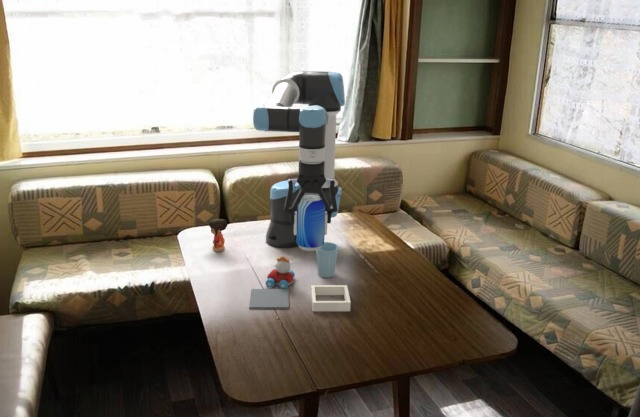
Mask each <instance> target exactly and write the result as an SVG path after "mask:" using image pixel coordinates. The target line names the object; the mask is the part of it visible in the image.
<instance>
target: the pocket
mask: <svg viewBox="0 0 640 417" xmlns="http://www.w3.org/2000/svg"><path fill="white" fill-rule="evenodd" d="M310 286H311V288H310V295H311V309H312V312H351V305H352V304H351V303H352V301H351V298H350V293H349V288H348V287H349V286H348V285H347V284H345V285H344V284H343V285H342V284H341V285H340V284H338V285H334V284H331V285H329V284H325V285H322V284H321V285H320V284H319V285H318V284H317V285H313V284H311V285H310ZM316 296H343V298H344V300H316Z"/></svg>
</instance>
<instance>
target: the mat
mask: <svg viewBox="0 0 640 417" xmlns="http://www.w3.org/2000/svg"><path fill="white" fill-rule="evenodd" d="M289 290H290V289H289V288H287V289H280V288H251V290H250V298H249V310H253V309H254V310H267V309H268V310H273V309H274V310H279V309H280V310H288V309H290V301H289V300H290V299H289V294H290V292H289Z"/></svg>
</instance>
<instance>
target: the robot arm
mask: <svg viewBox="0 0 640 417" xmlns="http://www.w3.org/2000/svg"><path fill="white" fill-rule="evenodd" d="M344 85H345V84H344V78H343V75H342V74H341V73H340V72H336V71H335V72H334V71H320V70H319V71H316V70H315V71H314V70H312V71H310V70H297V71H294V72H293V71H291V72H289V73H287V74H285V75H283V76H281V77H280V78H278V79H277V80H276V82H275V83H274V84H273V86H272V89H271V90H272V91H271V94H272V95H271V96H270V98H269V100H268V102H267V103H266V105H264V104H263V105H256V106H255V107H254V108H253V115H252V118H253V119H252V120H253V123H252V124H253V127H254V129H255V131H262V132H278V133H279V132H283V133H285V132H286V133H298V136H299V139H298V141H299V144H298V160H299V161H298V175H297V178H288V179H287V180H282V181H279V182H276V183H274V184H273V185H272V186H271V187H270V195H269V199H270V201H269V203H270V205H269V206H270V207H269V209H270V215H269V216H270V221H269V225H268V228H267V230H266V234H265V242H266V243H267V244H268V245H269V246H272V247H275V248H276V247H277V248H283V249H284V248H286V249H287V248H289V249H291V248H296V247H299V246H298V244H297V242H296V239H297V207H298V204H299V203H300V201H301V198H302V197H303V195H304V194H306V193H315V194H319V196H320V198H322V201H323V203H324V204H325V228H324V236H327V235H328V224H331V223H332V219H333V218H336V217H337V215H338V213H339V209H340V208H339V207H340V201H341V196H342V195H341V194H342V191H343V190H342V187H340V186H339V183H338V181H337V179H336V178H335V168H336V167H335V162H336V161H335V159H336V132H337V131H336V130H337V115H338V114H339V113H340V112H341V110H342V107H343V106H345V105H346V99H345V98H346V96H345V87H344ZM294 104H295V105H296V104H297V105H305V106H302V107H301V106H293V105H294Z"/></svg>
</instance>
